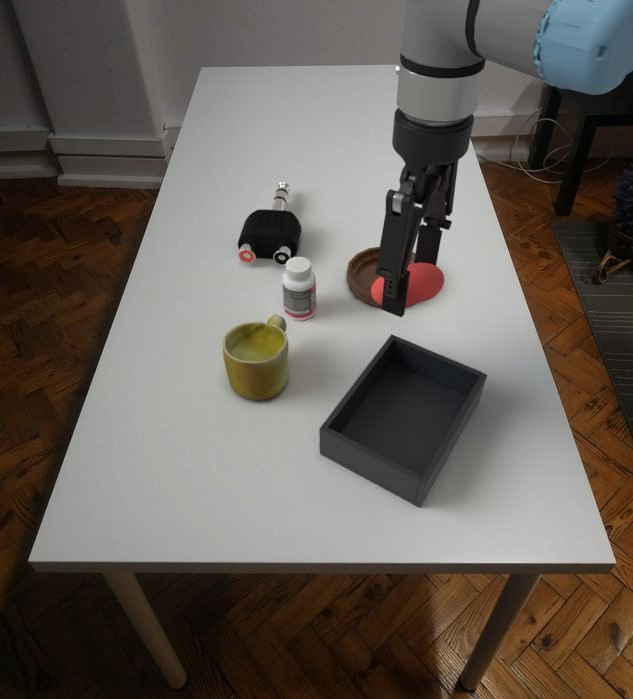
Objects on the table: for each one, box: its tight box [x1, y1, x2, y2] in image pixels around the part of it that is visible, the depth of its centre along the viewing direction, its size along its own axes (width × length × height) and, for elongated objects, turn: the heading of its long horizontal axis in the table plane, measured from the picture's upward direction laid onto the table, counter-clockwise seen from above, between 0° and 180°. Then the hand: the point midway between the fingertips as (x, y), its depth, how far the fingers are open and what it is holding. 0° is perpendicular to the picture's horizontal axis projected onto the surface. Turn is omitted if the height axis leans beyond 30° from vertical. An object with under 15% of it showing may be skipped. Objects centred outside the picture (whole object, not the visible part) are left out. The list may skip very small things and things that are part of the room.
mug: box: [221, 313, 289, 401], centre depth 81 cm, size 12×10×10 cm
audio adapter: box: [237, 181, 303, 266], centre depth 107 cm, size 11×5×25 cm
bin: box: [318, 333, 488, 509], centre depth 74 cm, size 15×20×6 cm
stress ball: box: [371, 263, 445, 307], centre depth 68 cm, size 5×9×6 cm
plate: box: [345, 246, 416, 308], centre depth 96 cm, size 14×14×2 cm
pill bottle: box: [281, 256, 317, 322], centre depth 89 cm, size 5×5×10 cm
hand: (408, 290), depth 69 cm, fingers closed on stress ball, 8 cm apart
